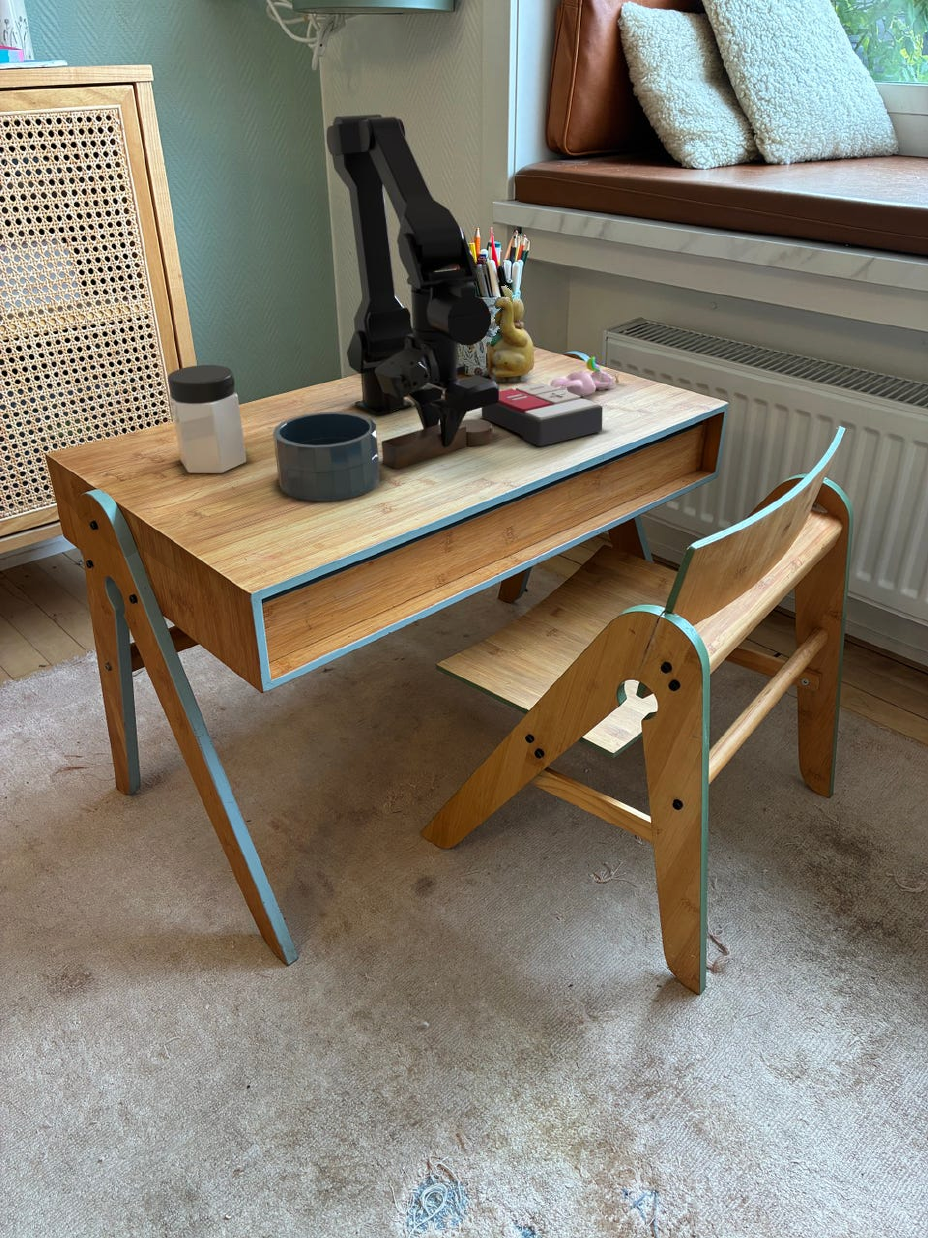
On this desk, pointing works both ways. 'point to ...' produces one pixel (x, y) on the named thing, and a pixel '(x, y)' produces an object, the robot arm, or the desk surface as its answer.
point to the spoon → (433, 443)
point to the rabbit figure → (586, 380)
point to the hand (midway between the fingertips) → (439, 442)
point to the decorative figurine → (509, 342)
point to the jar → (207, 418)
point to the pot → (327, 456)
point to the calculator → (545, 414)
